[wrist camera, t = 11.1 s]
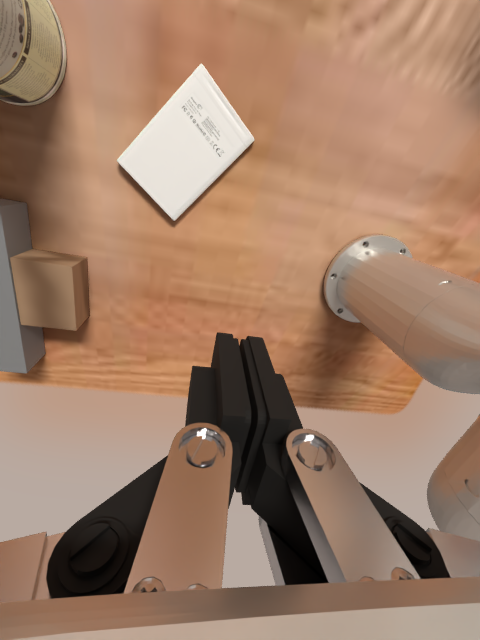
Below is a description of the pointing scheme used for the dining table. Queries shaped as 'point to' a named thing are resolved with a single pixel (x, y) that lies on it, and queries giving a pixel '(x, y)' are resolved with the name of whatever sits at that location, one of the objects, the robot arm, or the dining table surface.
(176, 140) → the external hard drive
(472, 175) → the dining table surface
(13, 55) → the coffee can
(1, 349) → the board
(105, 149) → the dining table surface
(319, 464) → the robot arm
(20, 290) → the walnut block
